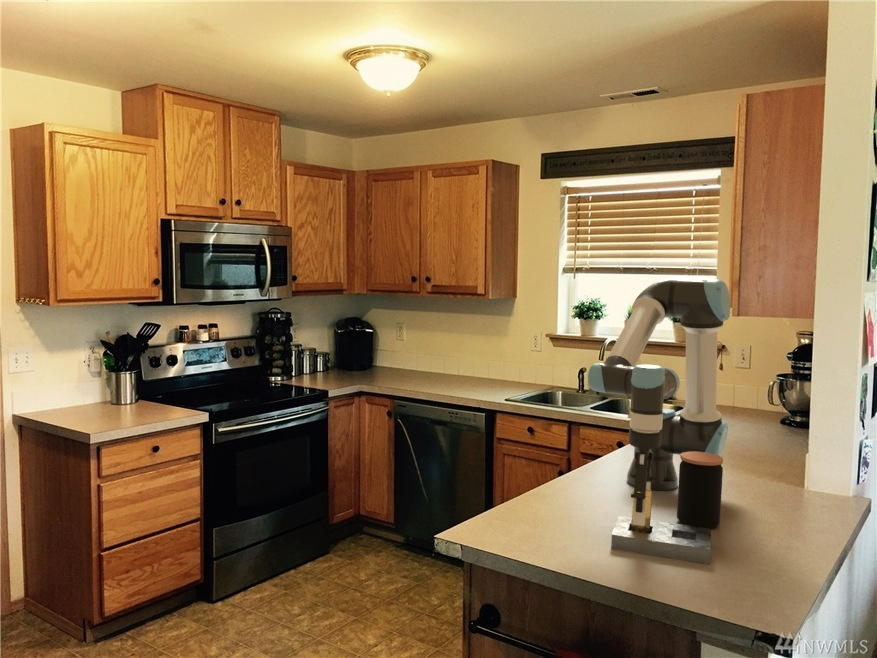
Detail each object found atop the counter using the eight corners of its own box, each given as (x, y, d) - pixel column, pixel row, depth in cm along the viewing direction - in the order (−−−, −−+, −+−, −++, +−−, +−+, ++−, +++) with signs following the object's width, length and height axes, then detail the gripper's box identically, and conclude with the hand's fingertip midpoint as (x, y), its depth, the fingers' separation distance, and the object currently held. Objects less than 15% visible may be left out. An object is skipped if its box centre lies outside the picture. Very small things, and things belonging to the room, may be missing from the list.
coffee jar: (709, 516, 194) (713, 451, 193) (726, 531, 184) (730, 462, 182) (670, 516, 194) (674, 451, 192) (685, 530, 183) (689, 461, 182)
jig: (618, 529, 183) (618, 515, 183) (710, 542, 176) (710, 528, 175) (611, 548, 170) (611, 534, 170) (710, 564, 163) (710, 549, 162)
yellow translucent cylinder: (631, 537, 178) (634, 486, 176) (650, 540, 176) (652, 489, 175) (629, 544, 173) (632, 491, 172) (648, 547, 172) (651, 494, 171)
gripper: (634, 418, 185) (630, 498, 187) (623, 439, 162) (619, 530, 164) (664, 420, 183) (660, 502, 184) (658, 442, 159) (653, 535, 161)
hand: (641, 515), depth 174 cm, fingers open, 13 cm apart
